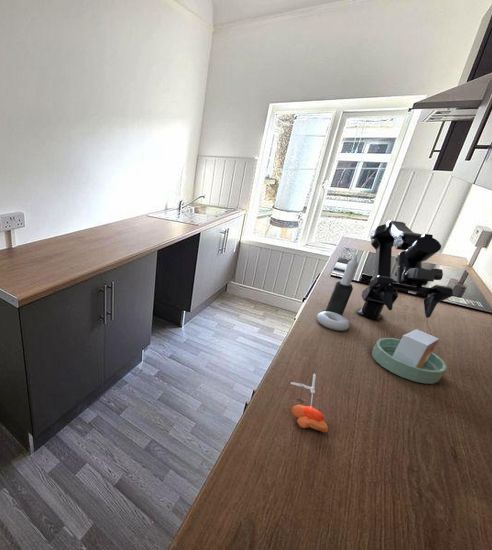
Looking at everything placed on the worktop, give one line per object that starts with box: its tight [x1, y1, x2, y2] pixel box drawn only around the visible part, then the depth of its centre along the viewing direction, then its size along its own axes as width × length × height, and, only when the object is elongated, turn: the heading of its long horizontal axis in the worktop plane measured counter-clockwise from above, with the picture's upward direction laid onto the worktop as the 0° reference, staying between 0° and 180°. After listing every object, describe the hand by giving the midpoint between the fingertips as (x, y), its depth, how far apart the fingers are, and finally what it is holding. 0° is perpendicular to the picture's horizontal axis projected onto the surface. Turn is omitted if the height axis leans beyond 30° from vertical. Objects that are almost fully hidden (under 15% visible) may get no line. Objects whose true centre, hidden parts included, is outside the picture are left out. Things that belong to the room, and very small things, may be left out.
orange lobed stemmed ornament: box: [290, 373, 329, 433], centre depth 66 cm, size 6×10×12 cm, turn 39°
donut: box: [316, 310, 350, 332], centre depth 107 cm, size 10×4×10 cm
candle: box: [325, 253, 359, 316], centre depth 109 cm, size 5×5×25 cm
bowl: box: [371, 337, 447, 385], centre depth 87 cm, size 15×15×4 cm
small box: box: [392, 328, 440, 369], centre depth 85 cm, size 8×6×10 cm
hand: (408, 313), depth 90 cm, fingers open, 9 cm apart
